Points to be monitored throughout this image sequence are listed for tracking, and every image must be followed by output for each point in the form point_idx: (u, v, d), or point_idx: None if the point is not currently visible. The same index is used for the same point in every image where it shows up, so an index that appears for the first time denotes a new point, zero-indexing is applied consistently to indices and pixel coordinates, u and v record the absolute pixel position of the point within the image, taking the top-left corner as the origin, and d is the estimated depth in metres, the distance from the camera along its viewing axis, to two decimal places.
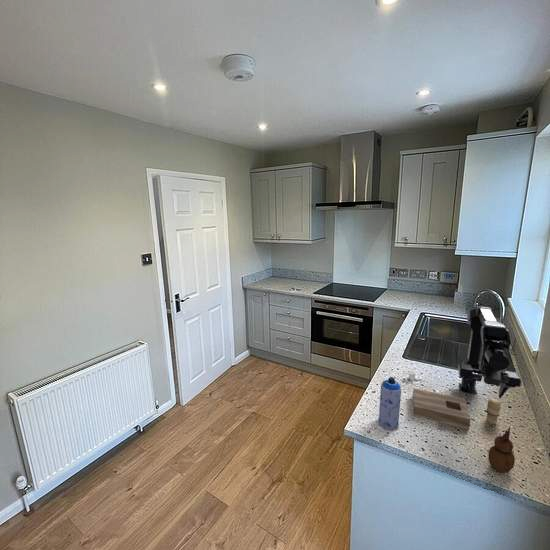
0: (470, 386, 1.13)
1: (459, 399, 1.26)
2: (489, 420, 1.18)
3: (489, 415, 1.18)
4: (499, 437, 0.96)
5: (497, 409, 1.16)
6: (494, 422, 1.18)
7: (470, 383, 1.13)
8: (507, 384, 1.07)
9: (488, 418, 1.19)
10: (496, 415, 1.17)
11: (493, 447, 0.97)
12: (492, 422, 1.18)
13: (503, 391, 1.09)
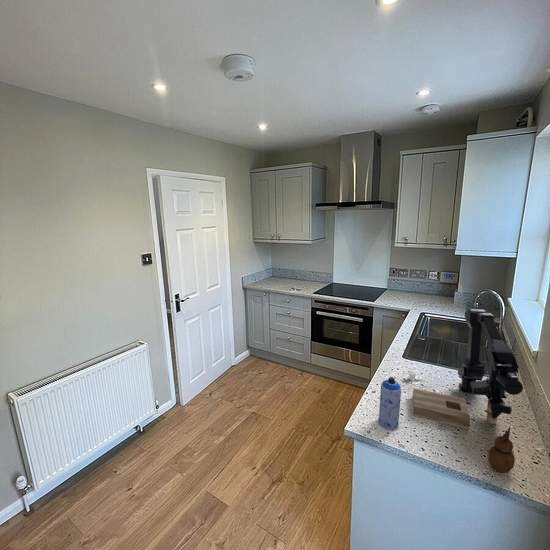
0: None
1: (459, 399, 1.26)
2: (489, 420, 1.18)
3: (489, 415, 1.18)
4: (499, 437, 0.96)
5: None
6: (494, 422, 1.18)
7: None
8: None
9: (488, 418, 1.19)
10: None
11: (493, 447, 0.97)
12: (492, 422, 1.18)
13: None
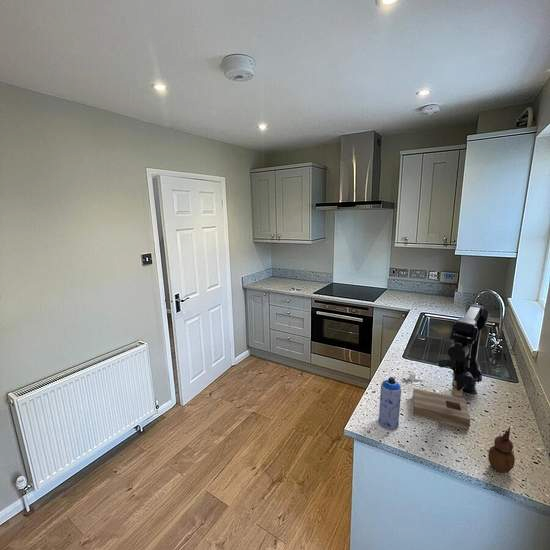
0: None
1: (459, 399, 1.26)
2: (454, 392, 1.20)
3: (454, 387, 1.20)
4: (499, 437, 0.96)
5: None
6: (459, 394, 1.19)
7: None
8: None
9: (453, 391, 1.20)
10: None
11: (493, 447, 0.97)
12: (457, 394, 1.19)
13: (456, 382, 1.18)
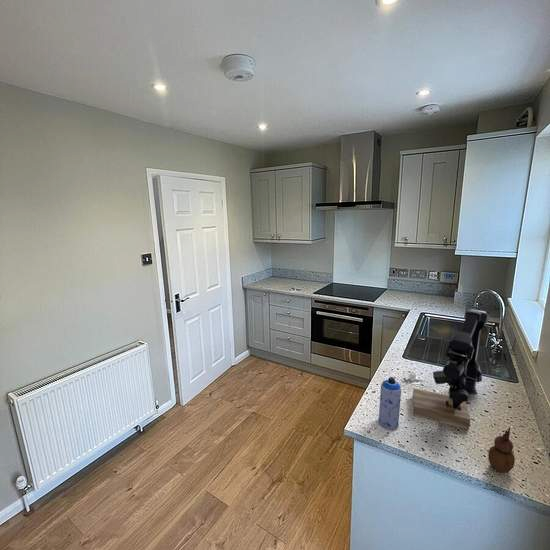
0: None
1: None
2: None
3: (450, 407, 1.22)
4: (499, 437, 0.96)
5: None
6: None
7: (449, 388, 1.26)
8: None
9: None
10: None
11: (493, 447, 0.97)
12: None
13: (452, 400, 1.18)
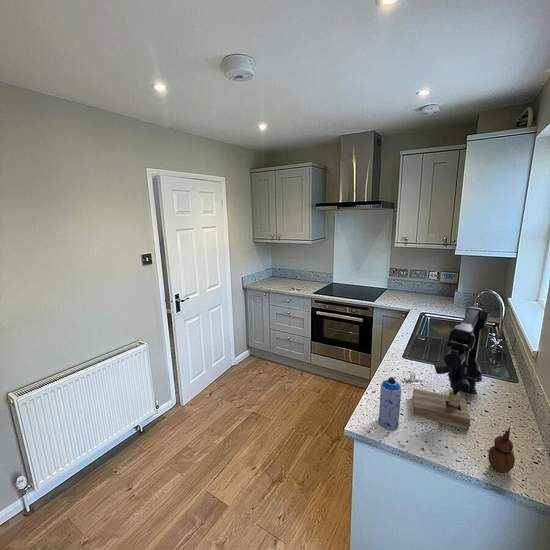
0: None
1: None
2: None
3: (450, 407, 1.22)
4: (499, 437, 0.96)
5: (457, 401, 1.20)
6: None
7: None
8: None
9: None
10: (456, 407, 1.20)
11: (493, 447, 0.97)
12: None
13: None
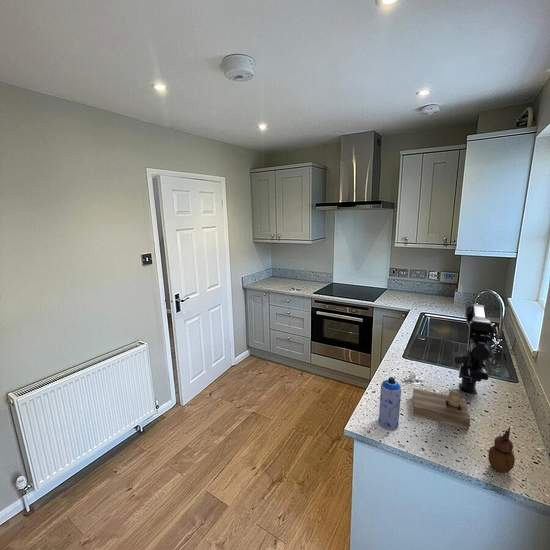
0: None
1: None
2: None
3: (450, 407, 1.22)
4: (499, 437, 0.96)
5: (457, 401, 1.20)
6: None
7: None
8: (469, 368, 1.24)
9: None
10: (456, 406, 1.20)
11: (493, 447, 0.97)
12: None
13: None
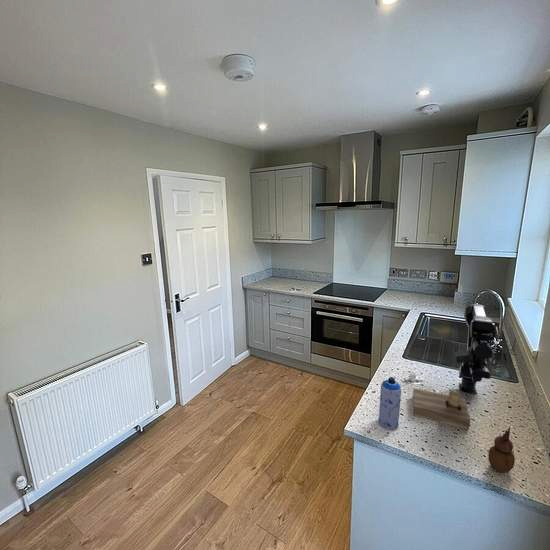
0: (471, 375, 1.26)
1: None
2: None
3: (450, 407, 1.22)
4: (499, 437, 0.96)
5: (457, 400, 1.20)
6: None
7: None
8: (470, 367, 1.24)
9: None
10: (456, 406, 1.20)
11: (493, 447, 0.97)
12: None
13: (472, 375, 1.25)
